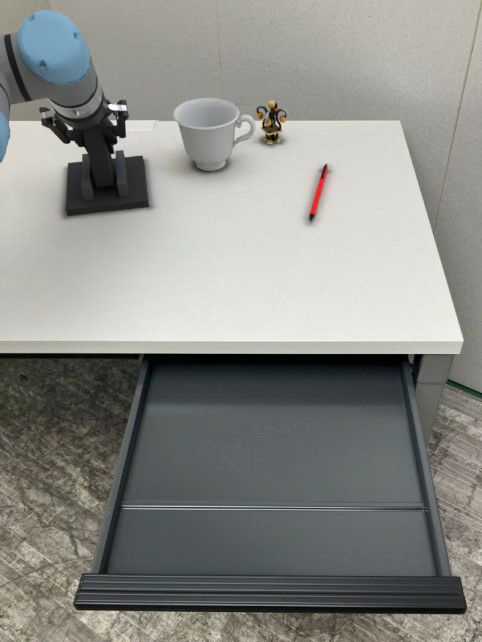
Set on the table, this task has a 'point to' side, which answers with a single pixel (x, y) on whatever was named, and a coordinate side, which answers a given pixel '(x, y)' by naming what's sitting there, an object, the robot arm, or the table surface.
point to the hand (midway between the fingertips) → (100, 147)
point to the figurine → (271, 121)
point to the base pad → (107, 198)
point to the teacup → (210, 130)
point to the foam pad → (99, 157)
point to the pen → (318, 192)
